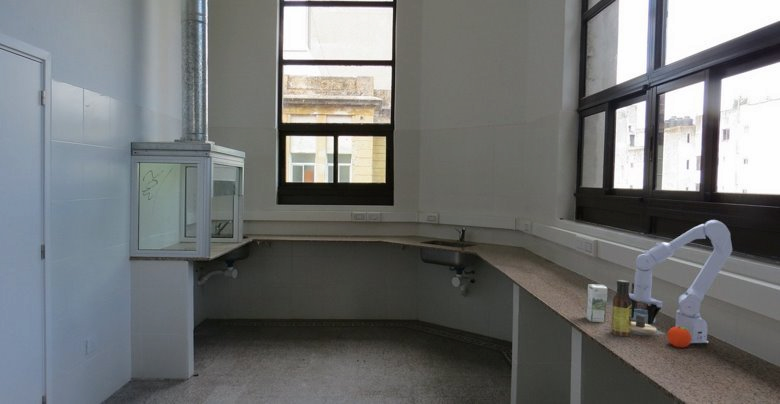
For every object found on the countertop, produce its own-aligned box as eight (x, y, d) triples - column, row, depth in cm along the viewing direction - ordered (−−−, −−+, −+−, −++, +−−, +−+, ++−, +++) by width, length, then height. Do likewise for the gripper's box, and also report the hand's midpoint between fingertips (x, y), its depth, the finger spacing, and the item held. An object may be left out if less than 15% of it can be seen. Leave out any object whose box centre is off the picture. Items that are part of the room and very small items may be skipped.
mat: (666, 335, 164) (666, 333, 164) (637, 335, 162) (637, 334, 162) (642, 324, 176) (642, 323, 176) (615, 325, 174) (615, 324, 174)
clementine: (690, 345, 153) (692, 325, 153) (697, 352, 147) (698, 331, 147) (664, 342, 156) (665, 322, 156) (669, 348, 150) (670, 327, 149)
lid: (663, 333, 164) (664, 320, 164) (637, 333, 163) (638, 320, 162) (642, 324, 175) (643, 311, 175) (618, 324, 173) (619, 311, 173)
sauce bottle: (632, 338, 158) (636, 283, 158) (613, 336, 160) (617, 282, 159) (626, 332, 165) (630, 279, 164) (608, 330, 166) (612, 278, 165)
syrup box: (600, 319, 181) (602, 284, 180) (605, 323, 175) (607, 287, 174) (585, 318, 181) (587, 283, 181) (590, 322, 175) (592, 286, 175)
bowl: (660, 324, 177) (660, 315, 177) (640, 324, 176) (640, 315, 176) (643, 317, 186) (644, 308, 186) (624, 317, 185) (625, 309, 184)
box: (636, 312, 193) (638, 285, 193) (629, 309, 198) (631, 282, 197) (648, 312, 194) (650, 285, 193) (641, 309, 198) (643, 282, 198)
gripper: (668, 289, 164) (665, 325, 164) (631, 280, 176) (628, 314, 177) (657, 290, 160) (654, 327, 161) (620, 282, 173) (617, 316, 174)
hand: (640, 320), depth 169 cm, fingers open, 7 cm apart
